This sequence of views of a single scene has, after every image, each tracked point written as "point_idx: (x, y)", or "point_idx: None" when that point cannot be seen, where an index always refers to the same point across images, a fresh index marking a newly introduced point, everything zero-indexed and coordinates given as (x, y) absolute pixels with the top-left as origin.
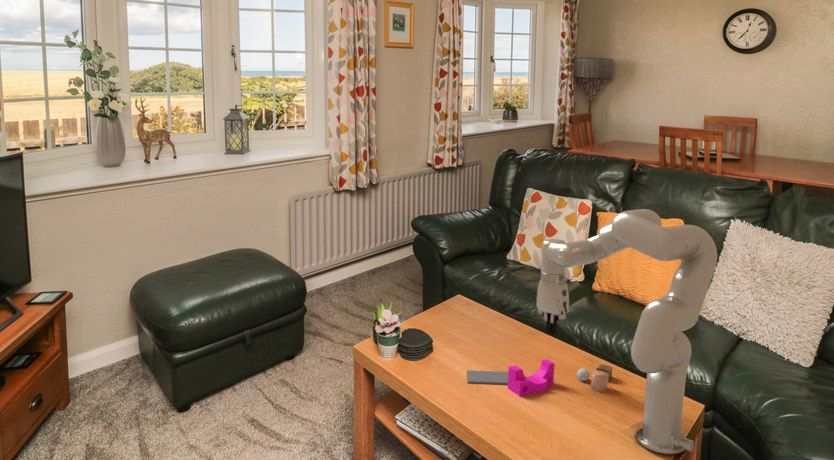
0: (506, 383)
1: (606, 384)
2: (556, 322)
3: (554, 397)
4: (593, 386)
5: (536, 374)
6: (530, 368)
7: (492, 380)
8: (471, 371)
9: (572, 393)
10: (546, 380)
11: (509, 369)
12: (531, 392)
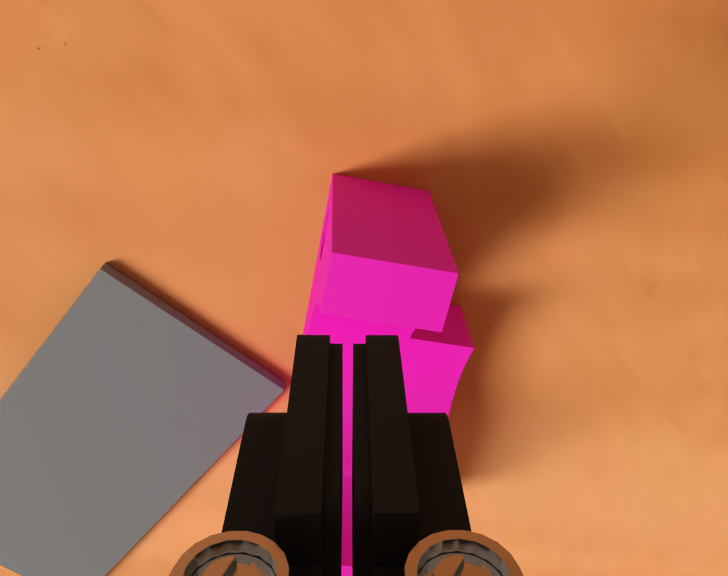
0: (222, 451)
1: None
2: (475, 565)
3: (564, 343)
4: None
5: (334, 326)
6: (47, 76)
7: (142, 497)
8: None
9: (623, 193)
10: (468, 349)
11: None
12: None
